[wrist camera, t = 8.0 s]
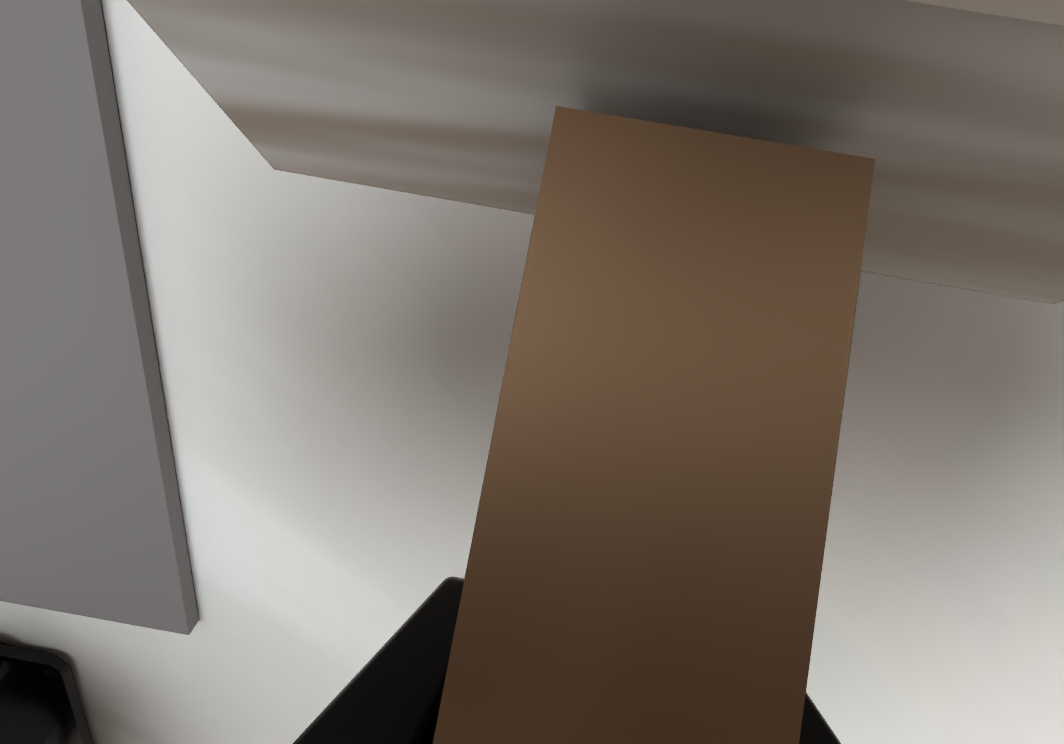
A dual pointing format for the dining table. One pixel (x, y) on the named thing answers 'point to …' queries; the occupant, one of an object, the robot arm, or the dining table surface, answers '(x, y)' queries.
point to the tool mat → (78, 343)
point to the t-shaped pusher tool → (665, 295)
